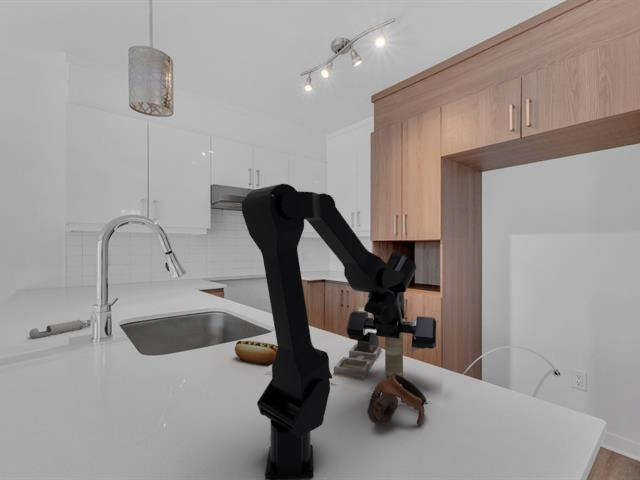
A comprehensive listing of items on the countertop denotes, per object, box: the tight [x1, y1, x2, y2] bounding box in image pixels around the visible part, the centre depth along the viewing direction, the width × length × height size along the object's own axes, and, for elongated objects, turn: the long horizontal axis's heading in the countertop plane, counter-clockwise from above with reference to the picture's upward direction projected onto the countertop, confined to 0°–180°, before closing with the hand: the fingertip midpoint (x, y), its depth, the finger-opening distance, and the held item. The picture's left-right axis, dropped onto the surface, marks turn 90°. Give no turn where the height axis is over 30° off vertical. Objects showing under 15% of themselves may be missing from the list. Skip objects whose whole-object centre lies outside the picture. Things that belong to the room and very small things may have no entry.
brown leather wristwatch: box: [366, 374, 427, 426], centre depth 57 cm, size 12×10×8 cm
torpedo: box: [29, 319, 92, 339], centre depth 113 cm, size 18×5×7 cm, turn 152°
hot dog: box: [234, 340, 278, 365], centre depth 85 cm, size 5×13×5 cm, turn 67°
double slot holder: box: [332, 343, 383, 381], centre depth 82 cm, size 21×7×3 cm, turn 158°
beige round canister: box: [384, 333, 404, 379], centre depth 74 cm, size 4×4×13 cm
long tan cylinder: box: [357, 304, 374, 353], centre depth 87 cm, size 4×4×13 cm
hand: (395, 347), depth 75 cm, fingers open, 8 cm apart
